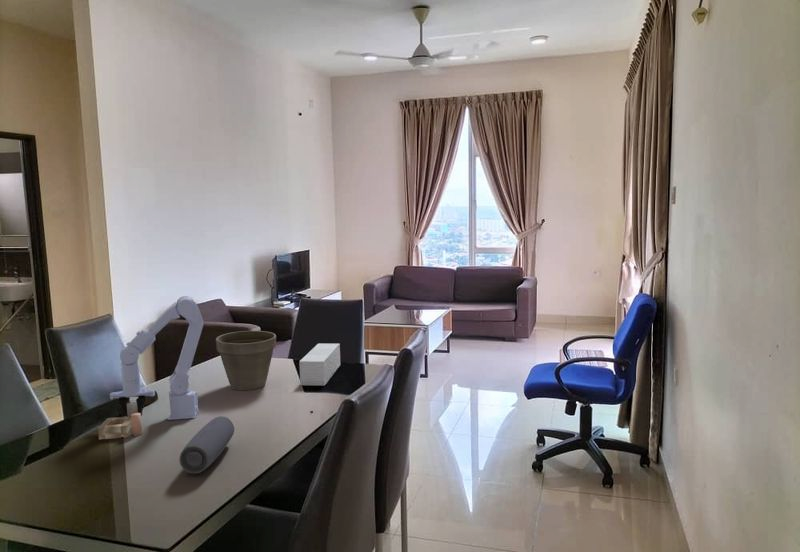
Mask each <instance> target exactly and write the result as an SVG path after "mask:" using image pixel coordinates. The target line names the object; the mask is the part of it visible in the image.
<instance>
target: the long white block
mask: <svg viewBox="0 0 800 552" xmlns="http://www.w3.org/2000/svg"><path fill="white" fill-rule="evenodd" d="M340 346H341V344H340V343H317V344H316V345H315V346H314V347H313V348H312V349H311V350H310V351H309V352H307V354H306V355H305V356H303V357H302V358H301V359H300V360H299V365H298V366H299V379H300V380H299V381H300V382H299V383H300V386H325V385H326V384H327V383H328V382H329V381H330V379H331V378H332V377H333V375H334V374H335V373H336V372H337V370H338V368H340V366H341V350H340V349H341V347H340Z"/></svg>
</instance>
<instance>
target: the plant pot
mask: <svg viewBox="0 0 800 552" xmlns="http://www.w3.org/2000/svg"><path fill="white" fill-rule="evenodd" d="M215 345H216V351H217V352H218V353H219V355H220V359H221V362H222V365H223V368H224V371H225V374H226V377H227V379H228V380H227V381H228V383H229V387H230V388H231V389H233V390H234V391H235V390H237V391H253V390H257V389H260V388H262V387H264V386H265V385H266V383H267V380H268V375H269V371H270V367H271V366H270V365H271V363H272V362H271V361H272V358H273V351H274V349H275V348H276V346H277V335H276V334H275V333H274V332H272V331H265V330H264V331H263V330H243V331H242V330H241V331H234V332H233V331H232V332H227V333H224V334H221V335H219V336H217V337H216V338H215Z"/></svg>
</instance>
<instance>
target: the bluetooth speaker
mask: <svg viewBox="0 0 800 552" xmlns="http://www.w3.org/2000/svg"><path fill="white" fill-rule="evenodd" d="M234 433H235V426H234V423H233V422H232V420H231V419H229V418H228V417H226V416H221V415H220V416H216V417H214V418H212V419H211V420H210V421H208V422H207V423H206V424H205V425H204V426H203V427H202V428H201V429H199V430H198V431H197V432H196V433H195V435H194V436H193V437H192V438H191V439H190V440H189V441H188V443H187V444H186V445H185V446H184V447H183V449H182V451H181V452H180V455H179V460H178V461H179V464H180V467H181V468H182V470H183V471H185V472H187V473H190V474H199V473H202V472H204V471H205V470H207V468H209V467H210V466H211V465H212V464H213V463H214V462H215V461H216V460H217V459H218V457H219V456H220V455H221V454H222V453H223V452H224V450H225V448H226V446H227V445H228V444H229V443H230V441H231V439H232V438H233V435H234Z"/></svg>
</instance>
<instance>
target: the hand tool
mask: <svg viewBox="0 0 800 552" xmlns="http://www.w3.org/2000/svg"><path fill="white" fill-rule="evenodd" d="M158 400H159V395H158V392H157V391H156V390H155V395H154V396H147V398H146V401H145V403H144V407H145V406H149V405H152V404H154V403H155V402H157V401H158ZM117 415H118V416H119V415H121V416H120V417H126V415H125V412H124V410H123V408H122V407H121V406H118V407H117Z"/></svg>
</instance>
